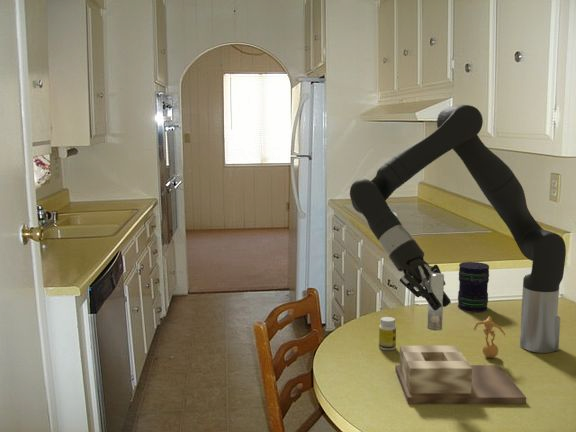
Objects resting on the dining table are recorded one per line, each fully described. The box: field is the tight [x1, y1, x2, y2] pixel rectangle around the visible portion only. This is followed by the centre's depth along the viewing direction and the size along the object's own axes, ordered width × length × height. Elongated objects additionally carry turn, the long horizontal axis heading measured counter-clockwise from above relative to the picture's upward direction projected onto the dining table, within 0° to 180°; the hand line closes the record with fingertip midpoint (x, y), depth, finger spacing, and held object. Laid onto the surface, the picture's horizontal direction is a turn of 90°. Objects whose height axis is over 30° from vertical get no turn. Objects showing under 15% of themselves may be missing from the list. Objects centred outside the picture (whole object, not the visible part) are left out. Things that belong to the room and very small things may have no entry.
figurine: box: [473, 315, 507, 359], centre depth 157 cm, size 8×6×12 cm
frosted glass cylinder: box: [426, 272, 445, 332], centre depth 139 cm, size 3×3×13 cm
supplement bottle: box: [378, 316, 397, 351], centre depth 166 cm, size 5×5×8 cm
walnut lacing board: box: [394, 364, 527, 405], centre depth 142 cm, size 26×18×2 cm
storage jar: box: [457, 261, 490, 313], centre depth 201 cm, size 10×10×15 cm
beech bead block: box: [399, 345, 472, 393], centre depth 141 cm, size 14×14×6 cm
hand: (443, 306), depth 137 cm, fingers closed on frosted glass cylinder, 3 cm apart
